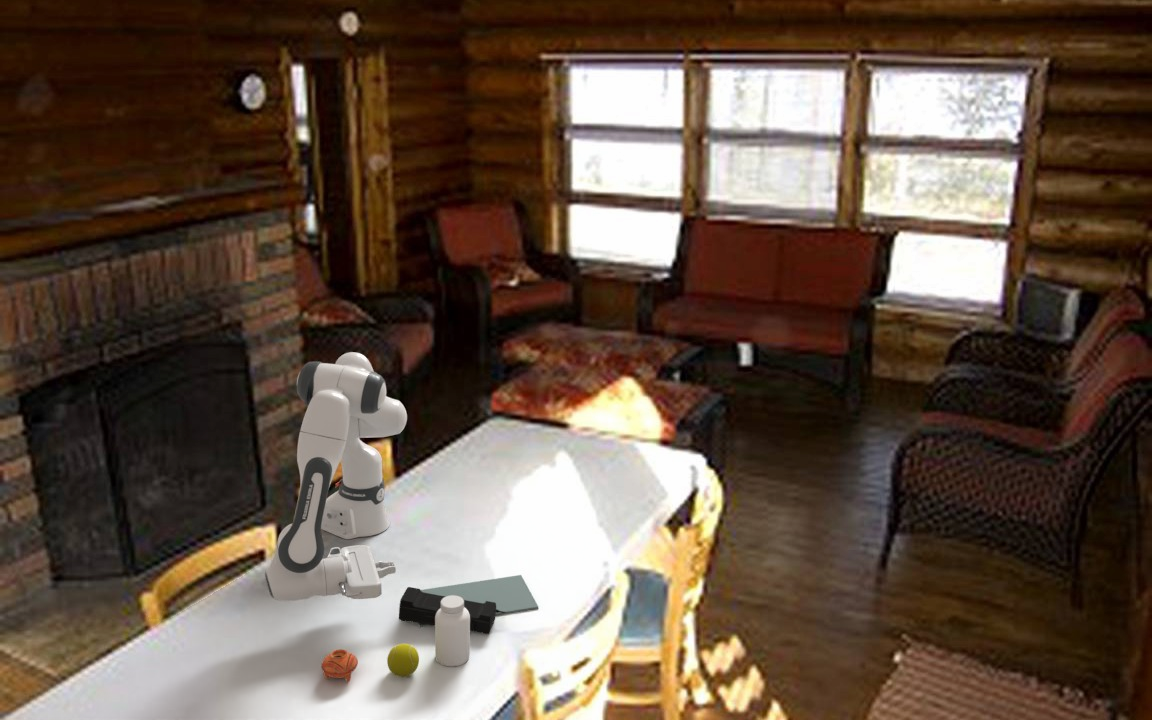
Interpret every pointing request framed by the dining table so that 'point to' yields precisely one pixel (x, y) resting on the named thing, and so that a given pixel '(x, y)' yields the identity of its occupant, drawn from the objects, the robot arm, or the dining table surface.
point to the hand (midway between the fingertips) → (394, 566)
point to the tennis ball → (403, 660)
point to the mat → (492, 594)
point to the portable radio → (426, 605)
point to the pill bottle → (452, 632)
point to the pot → (339, 664)
